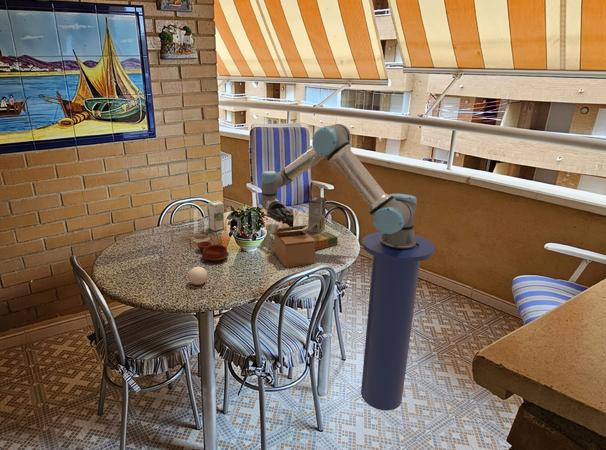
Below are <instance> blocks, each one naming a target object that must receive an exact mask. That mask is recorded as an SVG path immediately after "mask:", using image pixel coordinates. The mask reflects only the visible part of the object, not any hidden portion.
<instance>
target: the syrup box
mask: <svg viewBox="0 0 606 450" xmlns="http://www.w3.org/2000/svg"><path fill="white" fill-rule="evenodd" d="M207 204H208V205H207V206H208V225H209V229H210V230H212V231H213V232H218V231H221V230H224V229H225V219H224V217H225V216H224V202H222V201H220V200H214V201H209V202H208V203H207Z"/></svg>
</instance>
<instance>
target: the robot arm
mask: <svg viewBox="0 0 606 450" xmlns="http://www.w3.org/2000/svg"><path fill="white" fill-rule="evenodd" d="M351 139H352V134H351V131H350V129H349V128H348V127H347V126H346V125H345V124H342V123H335V124H331V125H325V126H322V127H320V128H318V129H317V130H316V131H315V132H314V134H313V135H312V142H311V144H312V147H311V148H310V149H308V150H307V151H306V152H304V153H303V154H301V155H300V156H299V157H298V158H296V159H295V160H294V161H292V162H291V163H289V164H288V165H287V166H285V167H284V168H283V169H281V170H280V171H278V172H277V171H273V170H265V171H263V172H262V173H261V196H260V198H259V203H260V205H261V207H262V208H263V209H265V211H266V217H267V218H270V219H272V220H274V221H276V222H277V223H281V222H282V223H281V224H283V225H285V224H286V225H287V227H293V226H294V220H295V214H294V209H293V208H290V209H288V208H286V207H285V206H284V204H283V203H282V202H281V201H279V200H278V189H279V188H282V187H284V186H288V185H289V184H291V183H292V182H294V180H295V179H296V178H298V177H299V176H301V175H302V174H304V173H306V172H307V171H308V170H310V169H311V168H312V167H314V166H315V165H317V164H318V163H320V162H321V161H323V160H324V159H326V160H327V161H328V162H329V163H333V164H335V165H336V167H337V168H338V169H339V171H340V172H341V173H342V174H343V176H344V177H345V178H346V179H347V181H348V182H349V183H350V184H351V186H352V187H353V188H354V189H355V191H356V192H357V194H358V195H359V196H360V197H361V198H362V199H363V201H364V202H365V203H366V204H367V206H368V213H369V214H370V215H371V217H372V223H373V227H374V228H375V229H376V230H377V232H382V233H383V234H382V236H381V241H380V242H381V244H382V245H384V246H385V247H388V248H391V249H397V250H408V249H412V248H414V247H415V246H416V245H418V246H419V245H420V244H418V243H416V239H415V235H416V234H415V231H414V226H415V218H416V210H417V205H418V203H417V201H418V200H417V197H416V196H414V195H411V194H405V193H390V194H388V193H386V191H384V189H383V188H382V187H381V185H379V183H378V182H377V181H376V179H375V178H374V177H373V175H372V174H370V172H369V171H368V170H367V168H366V167H365V166H364V165H363V163H362V162H361V161H360V160H359V158H358V157H357V156H356V155H355V153H354V152H353V151H352V144H351Z"/></svg>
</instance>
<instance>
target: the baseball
mask: <svg viewBox="0 0 606 450" xmlns="http://www.w3.org/2000/svg"><path fill="white" fill-rule="evenodd" d="M208 276H209V274H208V271H207V270H206V269H205V268H204V267H202V266H195V267H192V268H191V269H190V270H189V272H188V279H189V282H190V283H191V284H192V285H196V286H199V285H203V284H204V283H205V282H206V281H207V279H208Z"/></svg>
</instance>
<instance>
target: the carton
mask: <svg viewBox="0 0 606 450" xmlns="http://www.w3.org/2000/svg"><path fill="white" fill-rule="evenodd" d="M310 236H311V237H312V238H313V239H314V240H315V241H314V242H315V251H317V250H321V249H324V248H328V247H329V248H330V247H333V246H336V245H338V242H339V241H338V238H339V237H338V236H337V235H335V234H332V233H330V232H328V231H323V232H320V233H315V234H311V235H310Z"/></svg>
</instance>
